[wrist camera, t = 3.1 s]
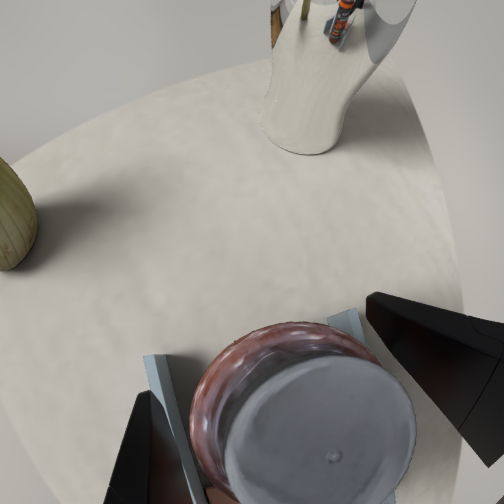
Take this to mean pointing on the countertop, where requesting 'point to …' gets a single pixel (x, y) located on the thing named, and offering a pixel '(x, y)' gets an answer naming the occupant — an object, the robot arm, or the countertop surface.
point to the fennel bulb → (15, 218)
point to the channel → (165, 394)
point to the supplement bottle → (301, 419)
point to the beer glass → (324, 65)
